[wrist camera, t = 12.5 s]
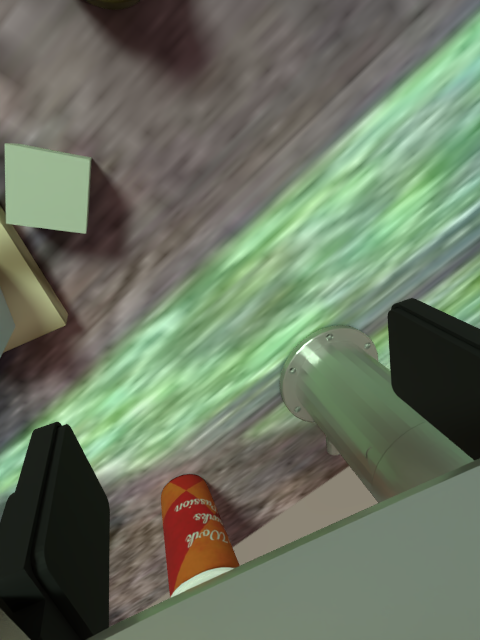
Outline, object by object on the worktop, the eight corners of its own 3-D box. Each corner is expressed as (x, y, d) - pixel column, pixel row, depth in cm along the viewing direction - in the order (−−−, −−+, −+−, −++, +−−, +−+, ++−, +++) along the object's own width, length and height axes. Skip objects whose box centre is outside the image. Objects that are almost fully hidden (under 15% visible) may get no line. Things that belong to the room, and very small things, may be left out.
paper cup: (227, 480, 49) (270, 592, 36) (187, 524, 49) (216, 647, 37) (179, 457, 45) (209, 572, 33) (136, 504, 46) (150, 634, 33)
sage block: (88, 221, 32) (86, 233, 28) (19, 212, 31) (6, 223, 26) (91, 157, 31) (89, 159, 26) (19, 143, 29) (4, 143, 25)
